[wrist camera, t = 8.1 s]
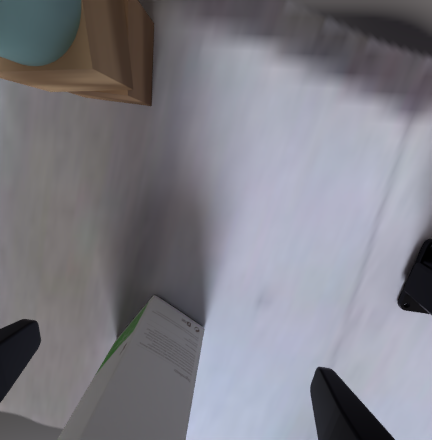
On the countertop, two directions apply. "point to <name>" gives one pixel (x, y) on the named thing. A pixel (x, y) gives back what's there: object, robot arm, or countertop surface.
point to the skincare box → (143, 380)
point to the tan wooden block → (84, 55)
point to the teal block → (37, 29)
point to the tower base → (134, 59)
